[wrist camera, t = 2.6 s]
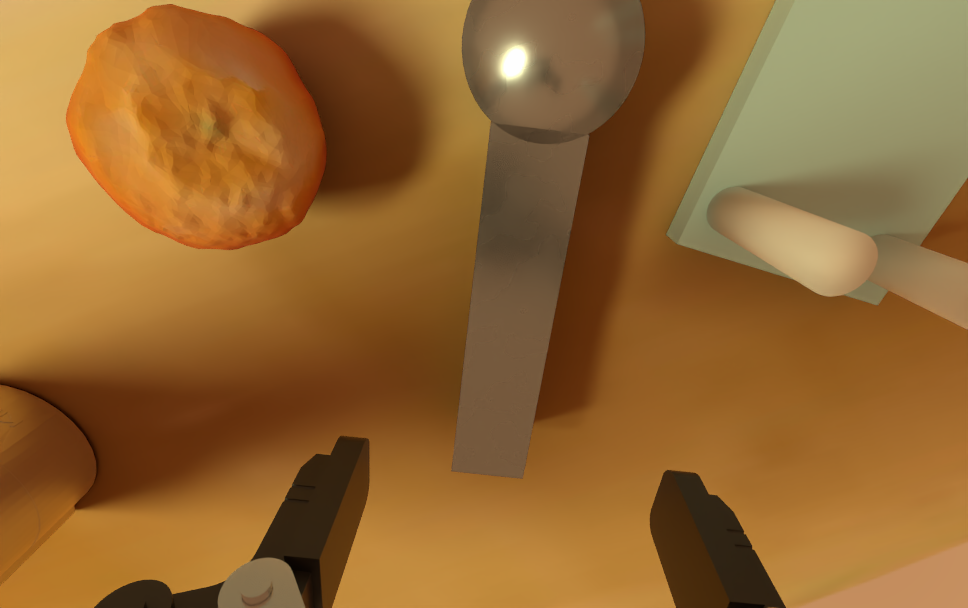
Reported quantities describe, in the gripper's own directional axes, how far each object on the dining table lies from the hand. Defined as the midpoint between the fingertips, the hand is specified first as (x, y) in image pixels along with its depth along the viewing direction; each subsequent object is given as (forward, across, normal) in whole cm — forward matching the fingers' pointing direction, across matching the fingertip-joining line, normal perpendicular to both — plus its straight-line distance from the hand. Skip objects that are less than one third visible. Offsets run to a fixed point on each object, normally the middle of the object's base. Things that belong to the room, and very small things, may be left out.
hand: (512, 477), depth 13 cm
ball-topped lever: (+12, 0, -4) cm, 13 cm away
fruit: (+12, +12, -7) cm, 18 cm away
